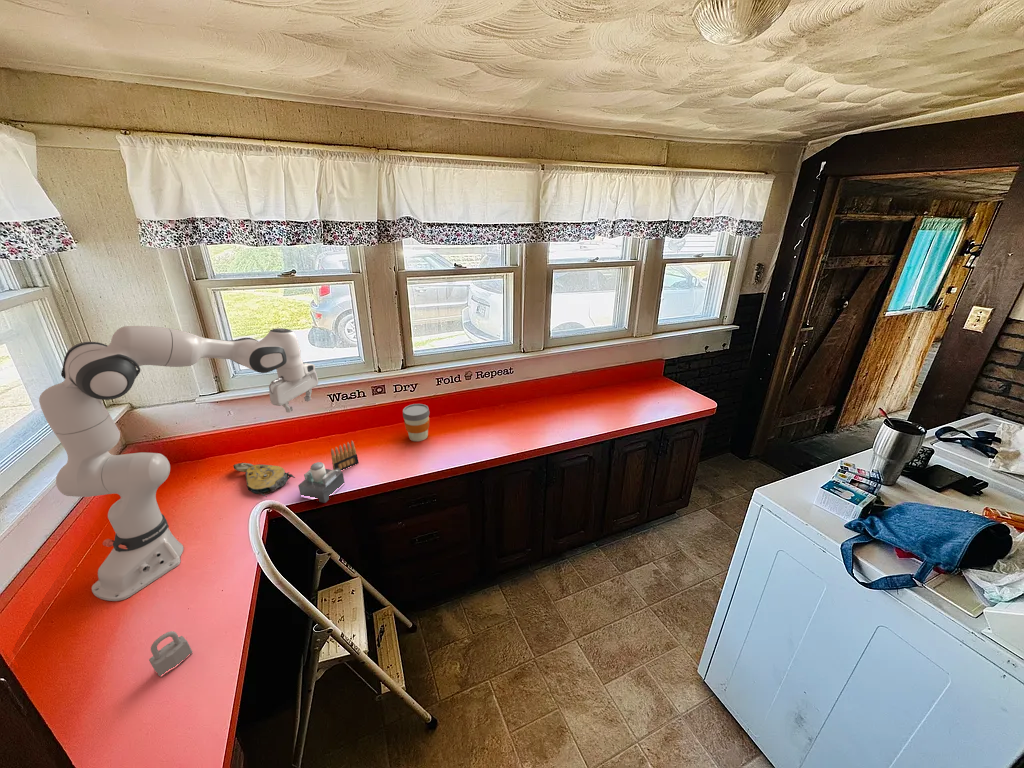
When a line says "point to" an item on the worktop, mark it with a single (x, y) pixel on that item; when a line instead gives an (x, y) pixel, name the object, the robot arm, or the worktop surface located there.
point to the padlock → (169, 652)
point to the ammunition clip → (344, 457)
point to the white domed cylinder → (318, 471)
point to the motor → (321, 484)
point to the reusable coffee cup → (416, 421)
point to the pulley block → (263, 477)
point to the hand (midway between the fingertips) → (299, 405)
